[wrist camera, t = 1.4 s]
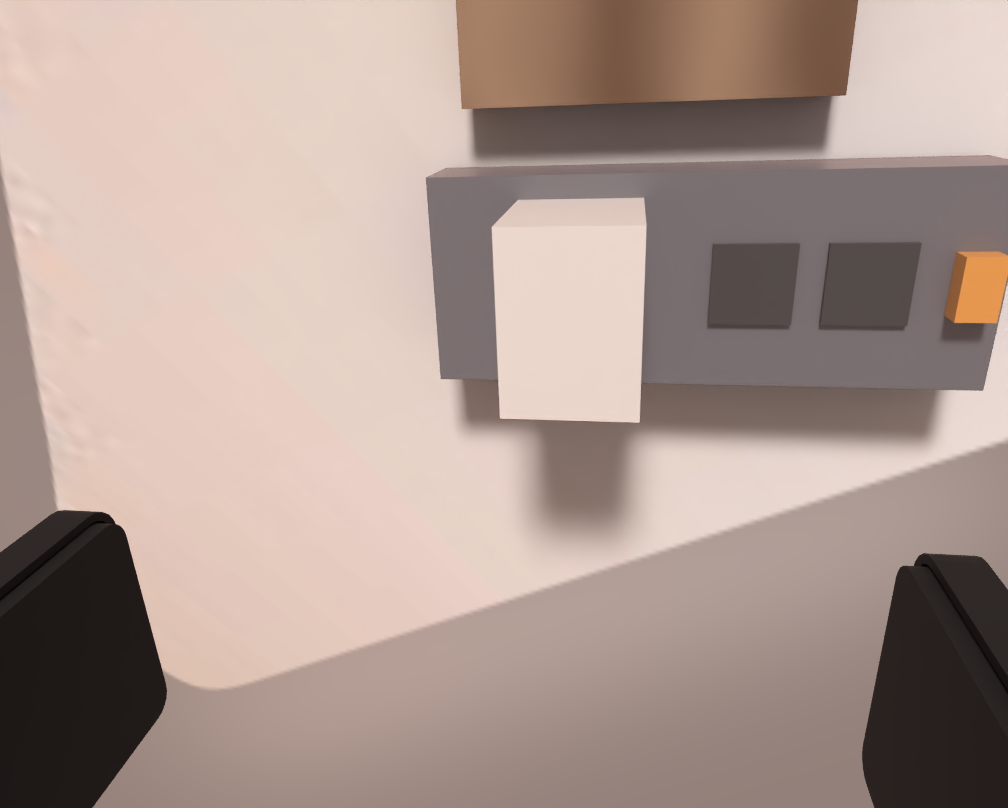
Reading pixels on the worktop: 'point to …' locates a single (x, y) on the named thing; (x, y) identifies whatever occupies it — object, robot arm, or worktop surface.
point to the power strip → (764, 267)
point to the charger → (570, 308)
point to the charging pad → (650, 50)
